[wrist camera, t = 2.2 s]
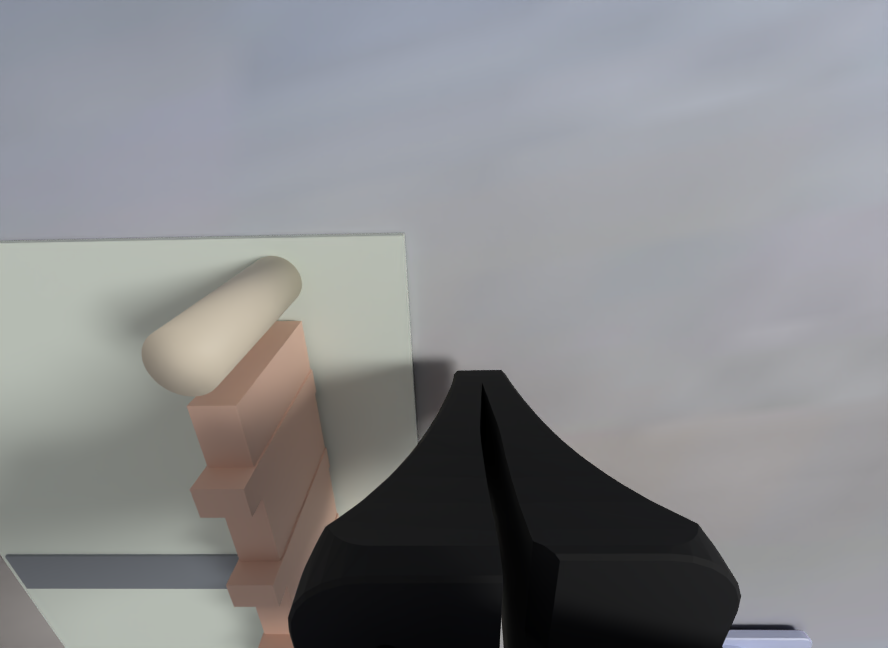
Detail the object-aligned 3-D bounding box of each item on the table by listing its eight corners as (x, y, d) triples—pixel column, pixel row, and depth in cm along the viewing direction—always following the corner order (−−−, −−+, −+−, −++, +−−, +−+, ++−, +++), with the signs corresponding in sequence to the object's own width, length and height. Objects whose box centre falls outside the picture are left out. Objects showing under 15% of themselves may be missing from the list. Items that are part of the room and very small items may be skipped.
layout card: (435, 728, 23) (435, 738, 23) (128, 726, 23) (123, 735, 23) (404, 232, 11) (402, 236, 11) (-199, 244, 12) (-220, 248, 12)
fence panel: (350, 557, 16) (315, 707, 12) (314, 557, 16) (266, 707, 12) (297, 255, 11) (204, 332, 7) (244, 256, 11) (121, 333, 7)
